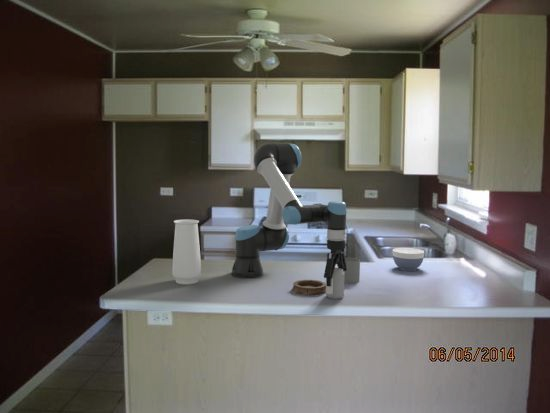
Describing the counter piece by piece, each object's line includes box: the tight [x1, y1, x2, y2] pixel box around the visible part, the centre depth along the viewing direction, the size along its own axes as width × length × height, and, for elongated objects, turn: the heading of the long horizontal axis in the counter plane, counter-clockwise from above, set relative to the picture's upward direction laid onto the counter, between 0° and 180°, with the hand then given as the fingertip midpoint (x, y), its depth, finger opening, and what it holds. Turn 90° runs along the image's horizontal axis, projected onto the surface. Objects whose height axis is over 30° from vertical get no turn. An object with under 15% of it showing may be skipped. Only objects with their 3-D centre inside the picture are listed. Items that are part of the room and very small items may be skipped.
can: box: [325, 267, 345, 300], centre depth 219 cm, size 8×8×12 cm
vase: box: [172, 218, 202, 285], centre depth 239 cm, size 13×13×28 cm
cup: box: [344, 257, 361, 284], centre depth 246 cm, size 8×8×10 cm
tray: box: [292, 279, 326, 297], centre depth 229 cm, size 15×15×3 cm
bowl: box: [392, 247, 425, 272], centre depth 272 cm, size 16×16×10 cm
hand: (335, 289), depth 219 cm, fingers open, 13 cm apart
